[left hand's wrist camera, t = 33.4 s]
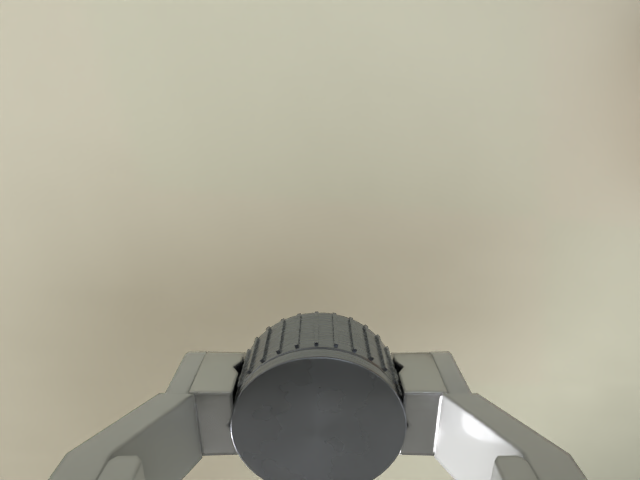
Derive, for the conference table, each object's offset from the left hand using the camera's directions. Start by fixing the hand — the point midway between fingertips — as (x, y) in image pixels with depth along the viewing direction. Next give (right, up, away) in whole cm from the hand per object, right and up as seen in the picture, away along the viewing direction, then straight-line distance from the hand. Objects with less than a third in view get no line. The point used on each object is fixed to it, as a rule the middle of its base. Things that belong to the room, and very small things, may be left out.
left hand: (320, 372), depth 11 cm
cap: (0, -1, -2) cm, 2 cm away
